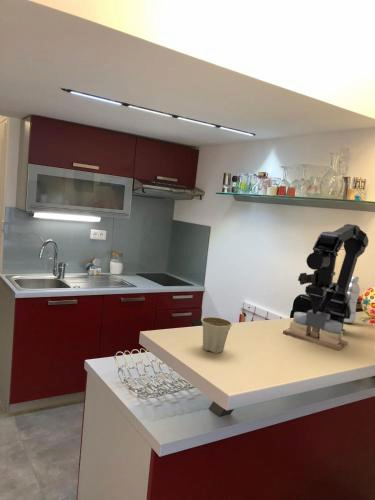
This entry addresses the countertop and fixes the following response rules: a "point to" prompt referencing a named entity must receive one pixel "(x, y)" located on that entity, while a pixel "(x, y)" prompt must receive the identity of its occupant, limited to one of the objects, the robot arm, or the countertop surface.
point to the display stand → (316, 335)
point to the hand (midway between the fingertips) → (318, 311)
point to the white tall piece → (353, 298)
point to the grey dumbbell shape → (318, 321)
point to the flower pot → (215, 333)
